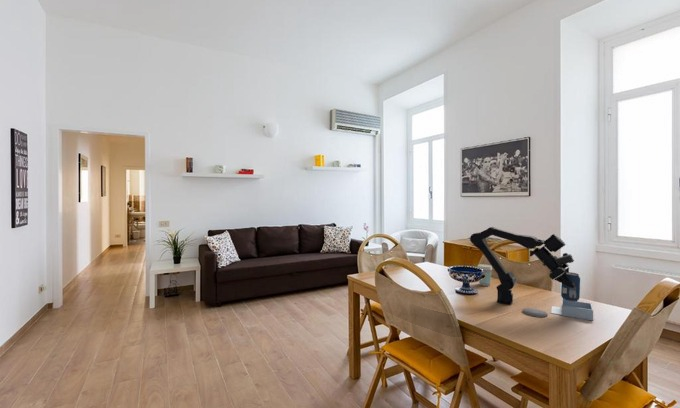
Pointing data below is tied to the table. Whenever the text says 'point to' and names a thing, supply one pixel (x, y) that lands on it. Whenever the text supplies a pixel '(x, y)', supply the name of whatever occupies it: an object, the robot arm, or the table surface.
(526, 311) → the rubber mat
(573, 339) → the table surface
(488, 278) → the coffee cup
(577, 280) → the soda can
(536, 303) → the table surface
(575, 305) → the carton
